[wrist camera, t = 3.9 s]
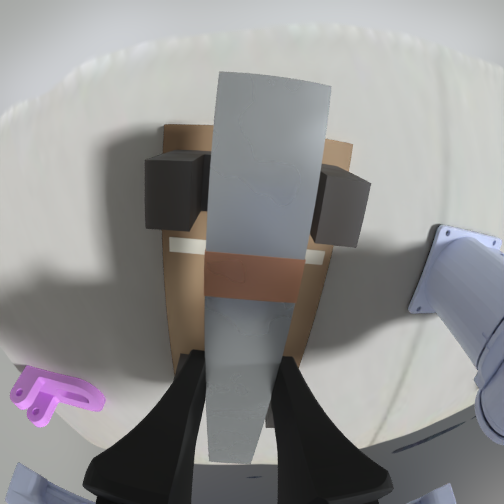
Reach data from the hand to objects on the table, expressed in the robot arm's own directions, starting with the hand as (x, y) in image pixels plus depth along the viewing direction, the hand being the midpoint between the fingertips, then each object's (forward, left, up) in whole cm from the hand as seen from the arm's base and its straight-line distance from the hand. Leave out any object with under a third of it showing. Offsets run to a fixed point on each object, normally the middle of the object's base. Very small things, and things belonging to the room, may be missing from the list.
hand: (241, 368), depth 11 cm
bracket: (+22, +20, -9) cm, 31 cm away
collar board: (0, +1, -8) cm, 9 cm away
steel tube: (0, 0, -2) cm, 2 cm away
